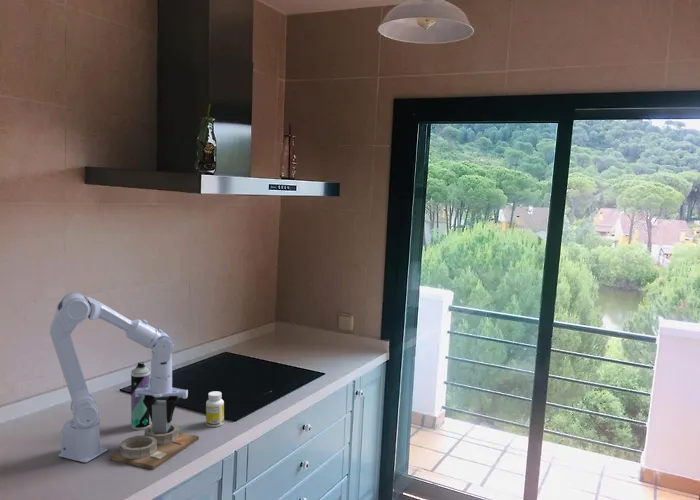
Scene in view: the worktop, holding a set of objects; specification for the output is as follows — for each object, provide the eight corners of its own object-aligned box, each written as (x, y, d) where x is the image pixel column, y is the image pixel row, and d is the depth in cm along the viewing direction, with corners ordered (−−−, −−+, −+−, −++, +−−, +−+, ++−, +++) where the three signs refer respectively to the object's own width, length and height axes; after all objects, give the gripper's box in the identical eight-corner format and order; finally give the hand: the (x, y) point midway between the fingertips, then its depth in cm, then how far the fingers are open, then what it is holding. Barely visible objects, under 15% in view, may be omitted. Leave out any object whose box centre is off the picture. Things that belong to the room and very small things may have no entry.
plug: (152, 432, 166) (152, 405, 165) (156, 426, 170) (156, 399, 169) (166, 432, 166) (166, 405, 165) (170, 427, 170) (170, 400, 169)
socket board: (110, 459, 156) (110, 446, 156) (158, 431, 175) (158, 419, 174) (153, 469, 151) (153, 456, 151) (198, 439, 170) (198, 427, 170)
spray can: (130, 424, 179) (130, 360, 177) (149, 421, 181) (149, 359, 179) (131, 431, 174) (131, 366, 172) (151, 428, 176) (151, 364, 174)
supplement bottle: (216, 418, 185) (216, 389, 184) (227, 423, 182) (227, 393, 181) (202, 423, 181) (202, 393, 180) (213, 428, 178) (213, 397, 177)
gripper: (130, 378, 162) (131, 425, 164) (182, 380, 162) (182, 427, 163) (140, 370, 169) (140, 415, 171) (190, 372, 169) (189, 417, 170)
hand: (161, 421), depth 167 cm, fingers closed on plug, 4 cm apart
